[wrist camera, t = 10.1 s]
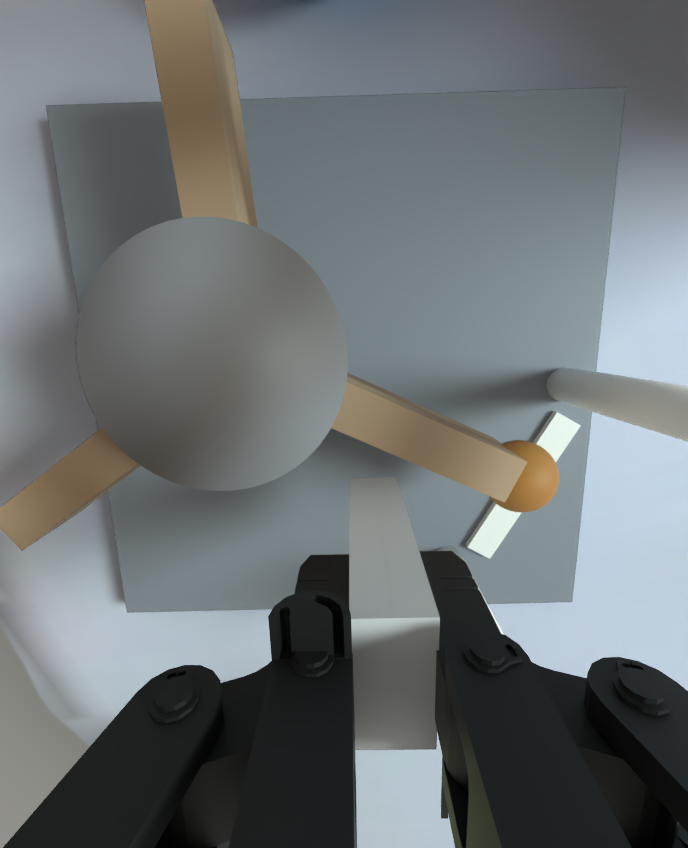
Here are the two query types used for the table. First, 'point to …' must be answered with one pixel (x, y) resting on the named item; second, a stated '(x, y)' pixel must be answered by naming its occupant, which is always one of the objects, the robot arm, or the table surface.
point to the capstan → (232, 334)
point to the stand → (391, 320)
